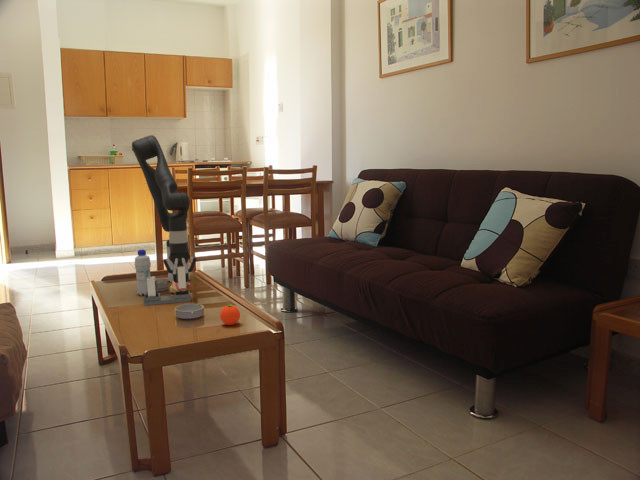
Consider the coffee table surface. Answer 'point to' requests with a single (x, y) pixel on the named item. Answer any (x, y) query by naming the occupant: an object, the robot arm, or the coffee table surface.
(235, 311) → the clementine
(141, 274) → the bottle
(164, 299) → the grey boxy piece
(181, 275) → the block
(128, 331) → the coffee table surface
